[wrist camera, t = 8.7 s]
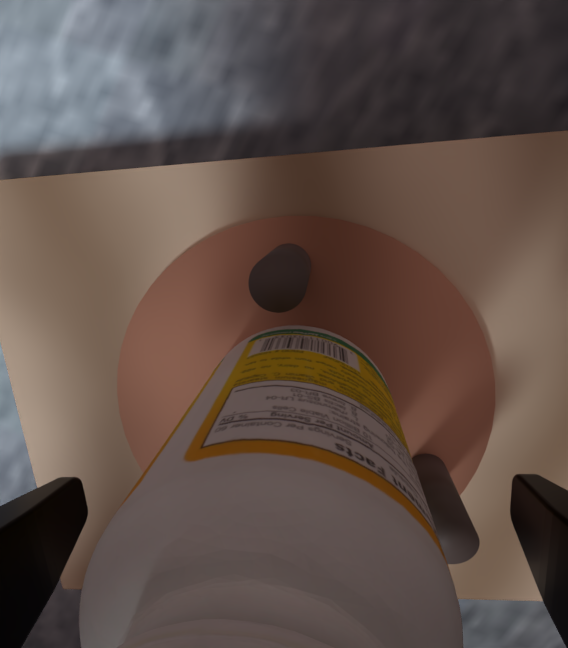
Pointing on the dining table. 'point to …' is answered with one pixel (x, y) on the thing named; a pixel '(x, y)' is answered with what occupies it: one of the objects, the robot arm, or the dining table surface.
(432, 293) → the pin board
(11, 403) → the dining table surface
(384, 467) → the supplement bottle
